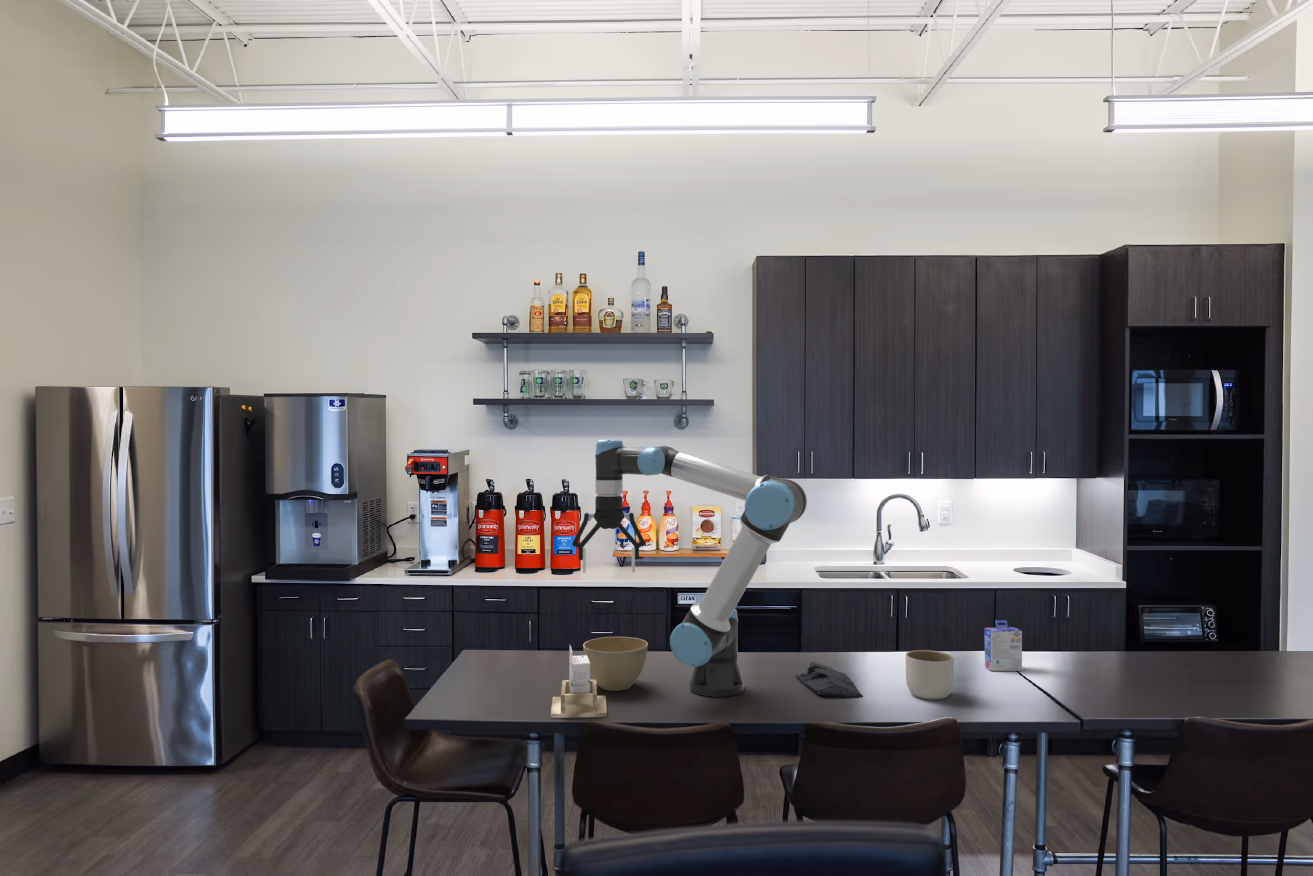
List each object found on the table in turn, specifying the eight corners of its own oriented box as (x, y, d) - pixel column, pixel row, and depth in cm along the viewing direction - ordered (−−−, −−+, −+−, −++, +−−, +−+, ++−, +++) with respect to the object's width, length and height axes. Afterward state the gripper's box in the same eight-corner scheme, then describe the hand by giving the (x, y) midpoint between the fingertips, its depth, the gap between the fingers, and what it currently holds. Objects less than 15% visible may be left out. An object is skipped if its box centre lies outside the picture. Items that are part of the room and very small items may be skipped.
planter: (904, 700, 228) (904, 659, 228) (907, 687, 240) (907, 648, 240) (953, 705, 224) (953, 663, 224) (953, 691, 236) (954, 652, 236)
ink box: (590, 709, 216) (591, 651, 216) (571, 710, 215) (571, 652, 215) (587, 699, 225) (587, 643, 225) (568, 700, 224) (568, 644, 224)
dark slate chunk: (810, 700, 229) (810, 683, 229) (794, 677, 251) (794, 661, 251) (866, 700, 229) (866, 682, 229) (845, 676, 251) (845, 660, 251)
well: (605, 699, 228) (605, 678, 228) (606, 716, 214) (606, 694, 214) (552, 700, 226) (552, 680, 226) (550, 718, 213) (550, 696, 213)
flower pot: (640, 676, 250) (640, 634, 250) (653, 694, 232) (653, 650, 232) (579, 679, 246) (579, 637, 246) (587, 699, 228) (587, 653, 228)
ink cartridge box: (1014, 666, 261) (1015, 619, 261) (1023, 671, 256) (1023, 623, 256) (983, 666, 261) (983, 619, 261) (990, 671, 256) (991, 623, 256)
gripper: (652, 494, 241) (652, 569, 241) (564, 494, 239) (563, 569, 239) (654, 496, 234) (654, 573, 234) (563, 496, 232) (563, 574, 232)
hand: (608, 571), depth 237 cm, fingers open, 13 cm apart
